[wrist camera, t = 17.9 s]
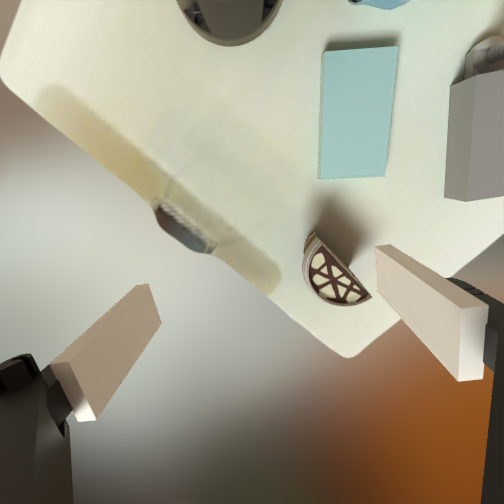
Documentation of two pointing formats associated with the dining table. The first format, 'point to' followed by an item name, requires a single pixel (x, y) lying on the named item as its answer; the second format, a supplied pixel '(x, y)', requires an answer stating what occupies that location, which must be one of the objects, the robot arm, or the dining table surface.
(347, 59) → the cover
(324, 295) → the food container
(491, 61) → the key
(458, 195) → the case
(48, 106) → the dining table surface
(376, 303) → the dining table surface
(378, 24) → the dining table surface
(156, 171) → the dining table surface
